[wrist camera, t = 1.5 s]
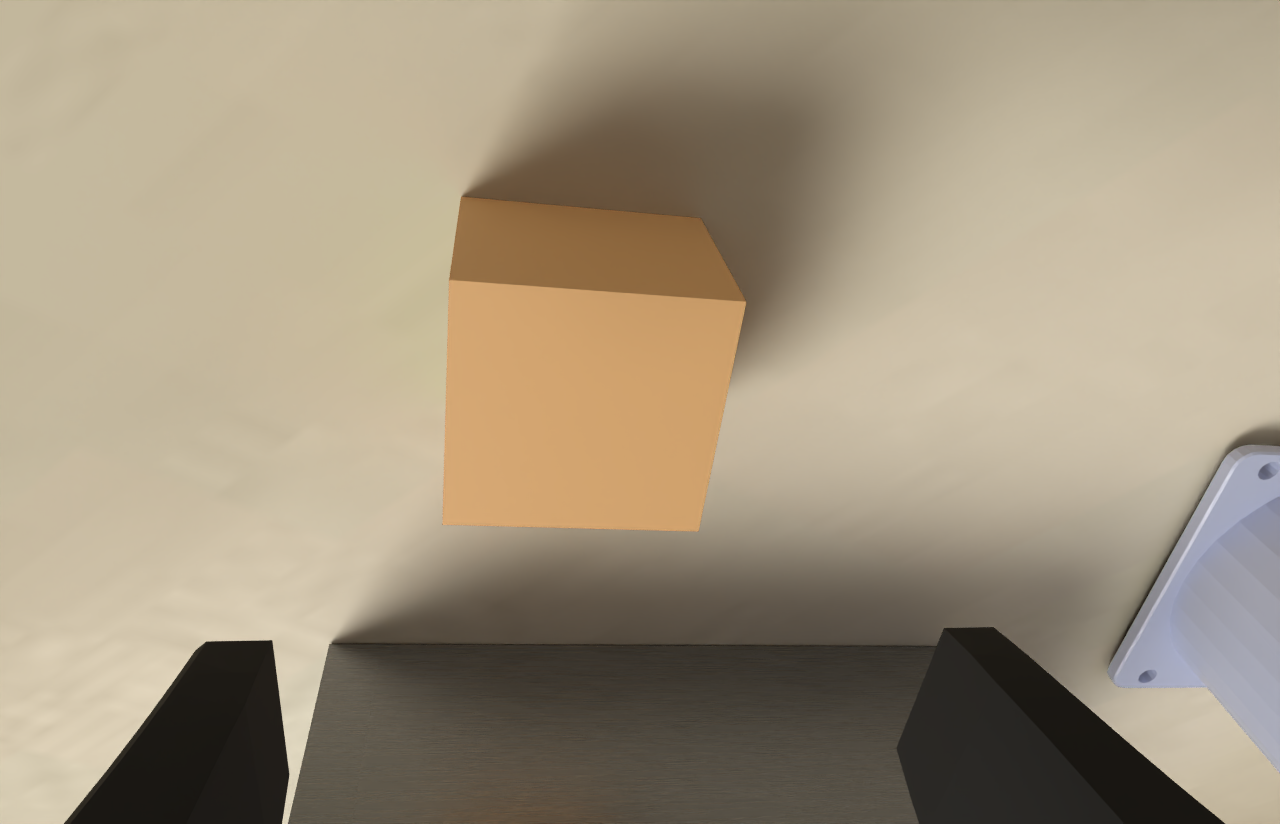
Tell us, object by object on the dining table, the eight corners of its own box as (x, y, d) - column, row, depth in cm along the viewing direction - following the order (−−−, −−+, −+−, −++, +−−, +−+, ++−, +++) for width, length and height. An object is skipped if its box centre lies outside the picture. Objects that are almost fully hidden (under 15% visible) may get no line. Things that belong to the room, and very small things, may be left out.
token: (699, 216, 17) (746, 301, 14) (665, 415, 19) (698, 531, 16) (461, 194, 16) (449, 280, 13) (454, 404, 19) (442, 524, 15)
